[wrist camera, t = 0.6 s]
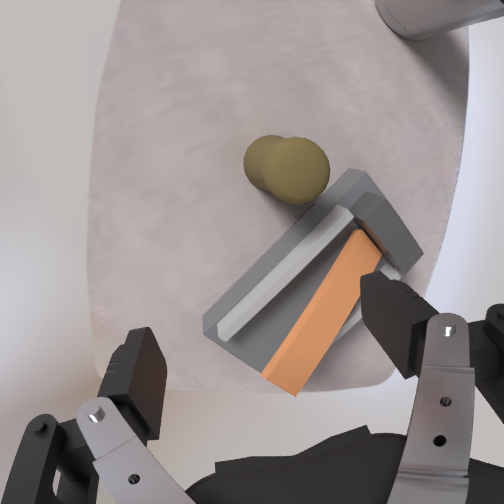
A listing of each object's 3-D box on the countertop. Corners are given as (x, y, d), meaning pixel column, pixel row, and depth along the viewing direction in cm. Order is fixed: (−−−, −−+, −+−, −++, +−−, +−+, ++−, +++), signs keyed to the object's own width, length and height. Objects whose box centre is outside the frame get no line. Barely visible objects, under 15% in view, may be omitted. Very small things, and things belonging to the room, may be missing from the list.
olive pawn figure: (287, 127, 31) (325, 119, 21) (307, 179, 33) (351, 195, 23) (234, 147, 31) (247, 148, 21) (256, 200, 33) (279, 226, 23)
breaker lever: (353, 229, 31) (361, 229, 30) (374, 254, 32) (382, 254, 31) (260, 374, 27) (266, 379, 26) (288, 392, 28) (295, 396, 27)
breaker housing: (349, 168, 33) (386, 176, 26) (399, 232, 37) (437, 253, 29) (203, 315, 37) (203, 356, 29) (266, 360, 40) (278, 402, 33)
